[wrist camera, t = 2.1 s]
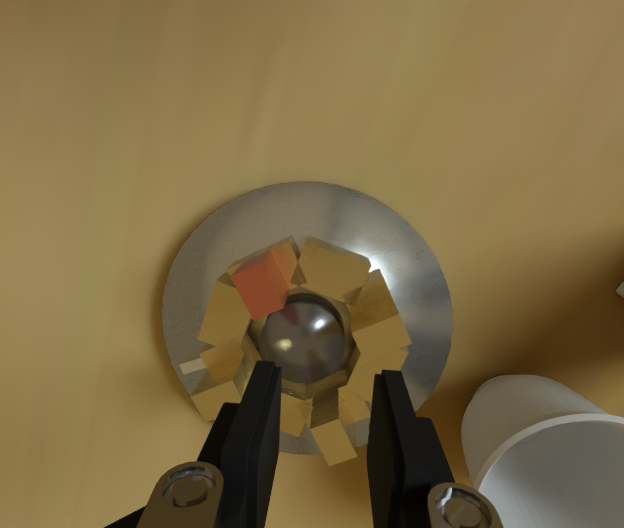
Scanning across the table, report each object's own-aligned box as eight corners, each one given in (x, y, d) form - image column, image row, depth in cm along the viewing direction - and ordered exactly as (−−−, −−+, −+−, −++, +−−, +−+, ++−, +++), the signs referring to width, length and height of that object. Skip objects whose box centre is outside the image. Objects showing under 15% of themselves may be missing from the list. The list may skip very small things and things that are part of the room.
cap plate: (382, 128, 28) (390, 123, 24) (486, 389, 32) (507, 420, 28) (119, 253, 31) (88, 266, 27) (245, 474, 35) (234, 512, 32)
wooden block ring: (353, 207, 28) (358, 219, 22) (426, 376, 30) (447, 425, 25) (179, 285, 30) (142, 314, 24) (262, 436, 32) (247, 494, 27)
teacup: (571, 495, 34) (665, 627, 25) (408, 442, 34) (438, 554, 24) (645, 377, 31) (785, 473, 22) (467, 316, 31) (528, 387, 21)
